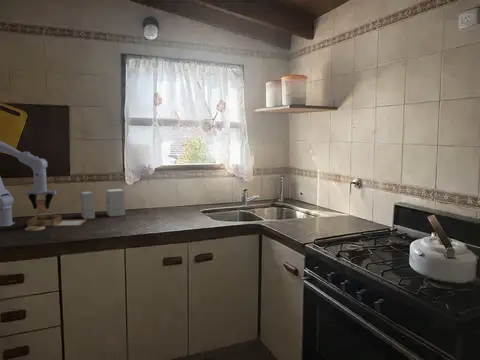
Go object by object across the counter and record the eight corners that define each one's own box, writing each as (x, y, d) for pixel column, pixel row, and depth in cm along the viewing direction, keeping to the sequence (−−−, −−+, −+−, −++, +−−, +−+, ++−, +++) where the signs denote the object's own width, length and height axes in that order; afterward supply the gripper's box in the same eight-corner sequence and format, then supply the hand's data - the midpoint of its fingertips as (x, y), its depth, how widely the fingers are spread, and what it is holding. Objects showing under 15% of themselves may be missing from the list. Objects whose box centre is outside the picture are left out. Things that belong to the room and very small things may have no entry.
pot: (35, 213, 199) (33, 201, 198) (39, 211, 204) (37, 199, 203) (46, 212, 200) (45, 200, 199) (50, 210, 205) (48, 198, 204)
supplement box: (121, 212, 239) (121, 188, 237) (125, 215, 231) (124, 190, 229) (106, 214, 234) (105, 189, 232) (109, 216, 226) (108, 191, 225)
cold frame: (27, 227, 198) (26, 221, 198) (36, 222, 211) (36, 215, 211) (54, 227, 200) (53, 220, 200) (62, 221, 213) (61, 215, 212)
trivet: (21, 232, 190) (21, 230, 189) (29, 227, 198) (29, 225, 198) (41, 231, 191) (41, 229, 191) (47, 227, 200) (47, 225, 200)
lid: (55, 227, 200) (54, 225, 200) (62, 221, 213) (62, 220, 213) (79, 226, 202) (79, 225, 202) (85, 221, 215) (85, 219, 214)
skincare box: (95, 218, 221) (94, 192, 219) (83, 219, 218) (82, 193, 216) (91, 216, 228) (90, 190, 226) (80, 217, 225) (79, 191, 223)
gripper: (21, 183, 195) (23, 210, 196) (52, 183, 197) (53, 209, 198) (27, 181, 202) (28, 207, 203) (57, 181, 204) (58, 207, 205)
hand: (41, 208), depth 201 cm, fingers closed on pot, 5 cm apart
